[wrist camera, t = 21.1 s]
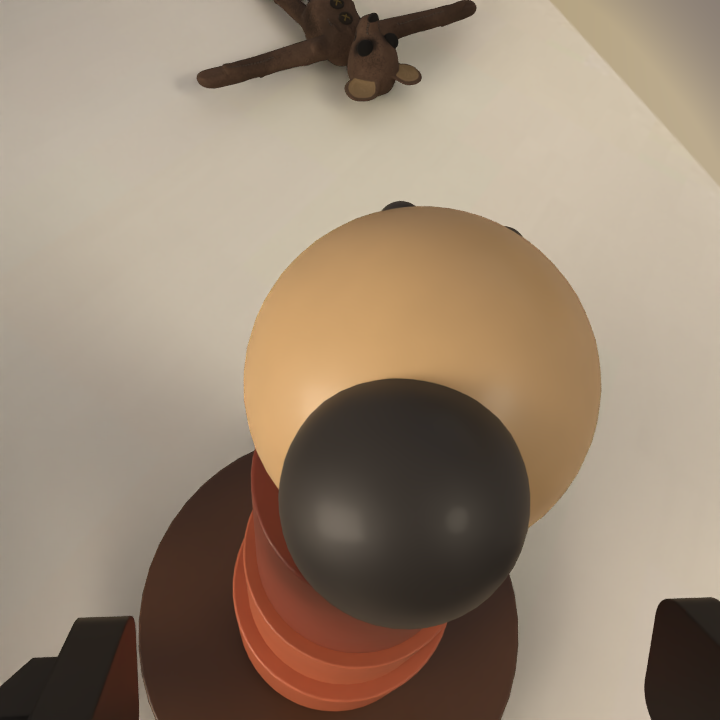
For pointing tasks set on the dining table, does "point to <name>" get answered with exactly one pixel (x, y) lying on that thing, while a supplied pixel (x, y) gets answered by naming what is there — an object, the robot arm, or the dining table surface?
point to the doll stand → (231, 662)
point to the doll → (401, 442)
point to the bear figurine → (343, 46)
